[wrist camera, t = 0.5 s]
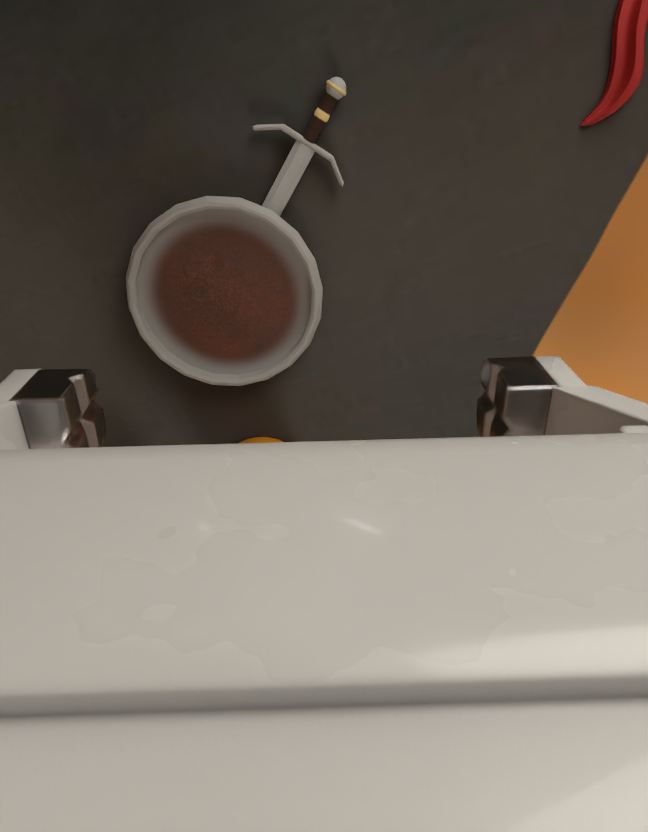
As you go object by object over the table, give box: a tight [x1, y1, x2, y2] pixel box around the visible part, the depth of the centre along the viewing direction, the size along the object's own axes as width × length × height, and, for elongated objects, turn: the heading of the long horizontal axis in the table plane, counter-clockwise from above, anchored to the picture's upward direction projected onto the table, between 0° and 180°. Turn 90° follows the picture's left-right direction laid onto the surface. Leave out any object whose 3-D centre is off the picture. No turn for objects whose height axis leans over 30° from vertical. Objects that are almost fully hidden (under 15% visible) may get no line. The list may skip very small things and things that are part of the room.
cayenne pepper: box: [580, 0, 648, 126], centre depth 46 cm, size 12×5×2 cm, turn 156°
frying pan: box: [126, 77, 346, 386], centre depth 52 cm, size 17×3×28 cm
